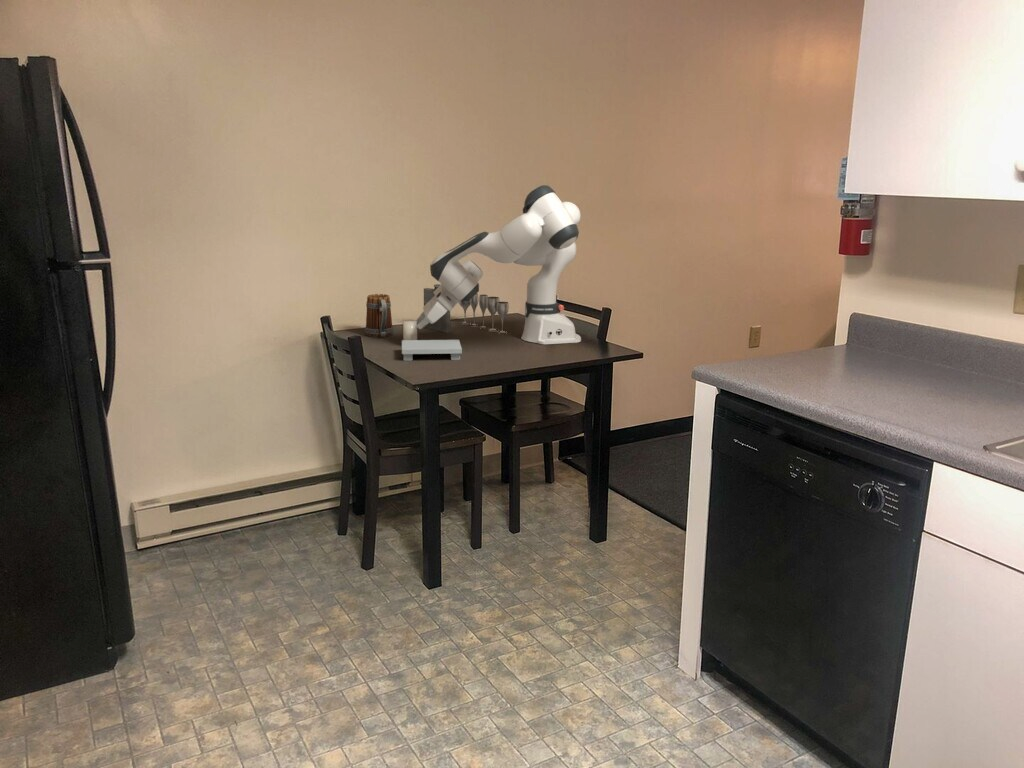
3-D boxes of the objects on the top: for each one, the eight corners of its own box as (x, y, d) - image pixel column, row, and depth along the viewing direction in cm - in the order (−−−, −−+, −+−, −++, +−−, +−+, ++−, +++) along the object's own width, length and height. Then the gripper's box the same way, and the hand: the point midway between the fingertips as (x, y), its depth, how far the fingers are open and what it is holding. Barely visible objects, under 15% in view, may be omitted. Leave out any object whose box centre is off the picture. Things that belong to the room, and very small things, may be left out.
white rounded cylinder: (417, 343, 295) (416, 319, 292) (417, 347, 290) (417, 322, 288) (403, 343, 294) (403, 319, 292) (403, 347, 290) (403, 322, 287)
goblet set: (511, 332, 317) (512, 299, 313) (500, 334, 313) (501, 300, 309) (465, 321, 336) (466, 289, 333) (455, 323, 332) (455, 291, 329)
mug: (362, 332, 311) (361, 294, 307) (389, 331, 315) (389, 292, 311) (371, 341, 297) (369, 301, 293) (399, 339, 301) (398, 299, 297)
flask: (429, 326, 324) (429, 281, 319) (453, 332, 315) (453, 286, 310) (422, 327, 322) (422, 282, 317) (446, 333, 312) (446, 287, 307)
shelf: (459, 350, 286) (459, 339, 285) (461, 360, 273) (461, 349, 271) (402, 351, 283) (401, 340, 282) (402, 361, 270) (401, 349, 269)
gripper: (437, 287, 298) (411, 313, 299) (440, 296, 278) (412, 324, 279) (449, 299, 299) (423, 325, 301) (453, 309, 280) (425, 337, 281)
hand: (418, 325), depth 290 cm, fingers open, 8 cm apart
